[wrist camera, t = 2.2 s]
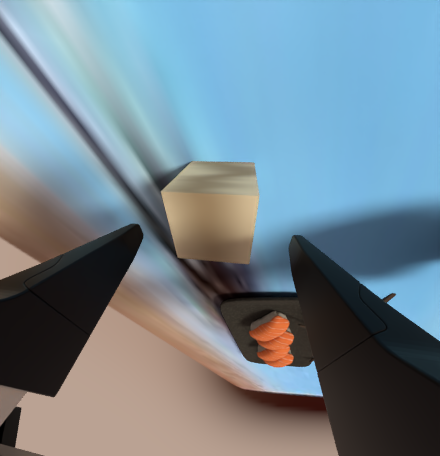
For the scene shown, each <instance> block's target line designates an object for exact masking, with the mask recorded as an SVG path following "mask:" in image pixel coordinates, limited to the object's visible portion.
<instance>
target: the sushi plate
mask: <svg viewBox="0 0 440 456" xmlns="http://www.w3.org/2000/svg"><path fill="white" fill-rule="evenodd" d="M395 295H396V294H394V293H392V294H390V295H388V296H387V297H385V298H384V299H383V301H384V302H386V303H387V302H388V301H389V300H391V299H392V298H393V297H394V296H395ZM220 309H221V313H222V315H223V317H224V319H225V321H226V323H227V325H228V327H229V329H230V331H231V333H232V335H233V337H234V339H235V341H236V343H237V345H238V347H239V348H240V350H241V352H242V354H243V356H244V357H245V359H246V360H248V361H250V362H254V363H261V364H268V365H270V366H273V367H283V366H295V367H306V366H309V365H310V364H311V362H312V361H314V358H313V354H312V351H311V347H310V343H309V339H308V335H307V331H306V327H305V323H304V320H303V316H302V312H301V308H300V304H299V300H298V297H261V298H235V299H228V300H225V301H223V302H222V303H221V306H220Z"/></svg>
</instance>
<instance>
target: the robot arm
mask: <svg viewBox="0 0 440 456" xmlns="http://www.w3.org/2000/svg"><path fill="white" fill-rule="evenodd" d="M142 240H143V232H142V230H141V227H140V225H139V224H129V225H127V226H125V227H123V228H120V229H118V230H116V231H114V232H111V233H109V234H107V235H105V236H102V237H100V238H98V239H96V240H93V241H91V242H89V243H87V244H84V245H82V246H80V247H78V248H75V249H73V250H71V251H69V252H66V253H65V254H62V255H60V256H57V257H55V258H53V259H50V260H48V261H46V262H43V263H41V264H39V265H36V266H34V267H32V268H29V269H26V270H24V271H21V272H19V273H16V274H14V275H12V276H9V277H6V278H4V279H2V280H0V456H43V455H39V454H36V453H32V452H28V451H25V450H21V449H17V448H15V444H16V438H17V431H18V425H19V420H20V413H21V408H20V407H16V406H17V404H18V403H19V402H20V400H21V399H22V398H23V396H24V395H25V394H26V393H27V392H32V393H36V394H41V395H45V396H50V397H55V396H56V394H57V393H58V391H59V389H60V388H61V386H62V384H63V382H64V381H65V379H66V377H67V375H68V373H69V372H70V370H71V368H72V367H73V365H74V363H75V361H76V360H77V358H78V356H79V354H80V353H81V351H82V349H83V347H84V345H85V344H86V342H87V340H88V339H89V337H90V335H91V333H92V331H93V330H94V328H95V326H96V324H97V323H98V321H99V319H100V317H101V316H102V314H103V312H104V310H105V309H106V307H107V305H108V304H109V302H110V300H111V298H112V297H113V295H114V293H115V291H116V290H117V288H118V286H119V284H120V283H121V281H122V279H123V277H124V276H125V274H126V272H127V270H128V269H129V267H130V265H131V263H132V262H133V260H134V258H135V256H136V253H137V251H138V249H139V246H140V244H141V242H142ZM289 256H290V264H291V272H292V277H293V281H294V285H295V289H296V292H297V296H298V300H299V304H300V308H301V312H302V316H303V320H304V323H305V327H306V331H307V335H308V339H309V343H310V347H311V351H312V354H313V358H314V362H315V366H316V370H317V372H318V373H317V374H318V378H319V382H320V386H321V390H322V393H323V397H324V401H325V405H326V409H327V413H328V416H329V421H330V424H331V428H332V432H333V436H334V440H335V444H336V447H337V451H338V455H339V456H440V341H439V340H437V339H436V338H434V337H433V336H432V335H430V334H429V333H427V332H426V331H425V330H423V329H422V328H420V327H419V326H418V325H416V324H415V323H413V322H412V321H411V320H409V319H408V318H406V317H405V316H404V315H402V314H401V313H399V312H398V311H397V310H395V309H394V308H393V307H391V306H390V305H388V304H387V303H386V302H384V301H383V300H382V299H380V298H379V297H378V296H377V295H375V294H374V293H373V292H371V291H370V290H369V289H368V288H366V287H365V286H364V285H363V284H360V282H359V281H358V280H356V279H355V278H354V277H353V276H351V275H350V274H349V273H348V272H346V271H345V270H344V269H343V268H341V267H340V266H339V265H338V264H336V263H335V262H334V261H333V260H331V259H330V258H329V257H328V256H326V255H325V254H324V253H323V252H321V251H320V250H319V249H318V248H316V247H315V246H314V245H313V244H311V243H310V242H309V241H308V240H306V239H305V238H304V237H303V236H301V235H293V236H292V239H291V242H290V244H289Z"/></svg>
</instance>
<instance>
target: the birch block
mask: <svg viewBox="0 0 440 456" xmlns="http://www.w3.org/2000/svg"><path fill="white" fill-rule="evenodd" d="M161 194H162V198H163V202H164V206H165V210H166V214H167V218H168V222H169V225H170V229H171V233H172V237H173V241H174V245H175V249H176V253H177V257H178V258H186V259H197V260H208V261H219V262H230V263H240V264H249V262H250V255H251V249H252V242H253V235H254V229H255V222H256V215H257V209H258V202H259V190H258V184H257V177H256V171H255V164H254V163H252V162H205V161H192V162H191V163H190V164H189V165H188V166H187V167H186V168H185V169H183V170H182V171H181V172H180V173H179V174H178V175H177V176H176V177H175V178H174V179H173V180H172V181H171V182H170V183H169V184H168V185H167V186H166V187H165V188H164V189H163V190H162V191H161Z"/></svg>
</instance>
